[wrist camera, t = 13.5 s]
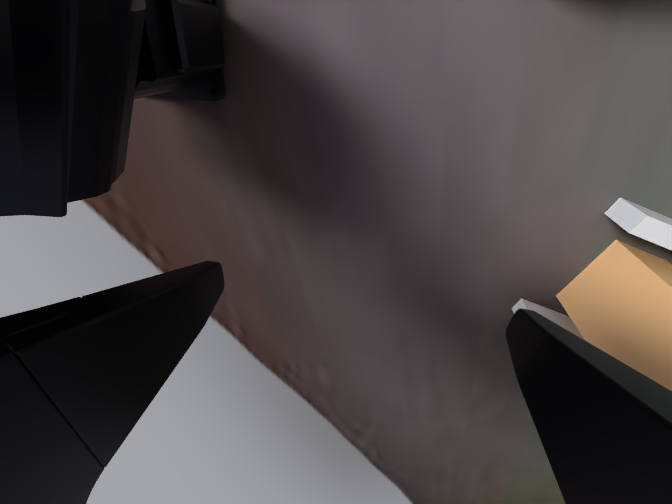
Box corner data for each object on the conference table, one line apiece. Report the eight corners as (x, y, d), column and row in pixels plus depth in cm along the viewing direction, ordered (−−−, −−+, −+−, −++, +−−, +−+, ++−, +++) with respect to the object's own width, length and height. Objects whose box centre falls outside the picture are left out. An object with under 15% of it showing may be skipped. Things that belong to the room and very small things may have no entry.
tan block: (555, 295, 24) (672, 473, 14) (616, 239, 21) (820, 416, 11) (601, 313, 24) (747, 500, 14) (667, 260, 21) (911, 452, 11)
